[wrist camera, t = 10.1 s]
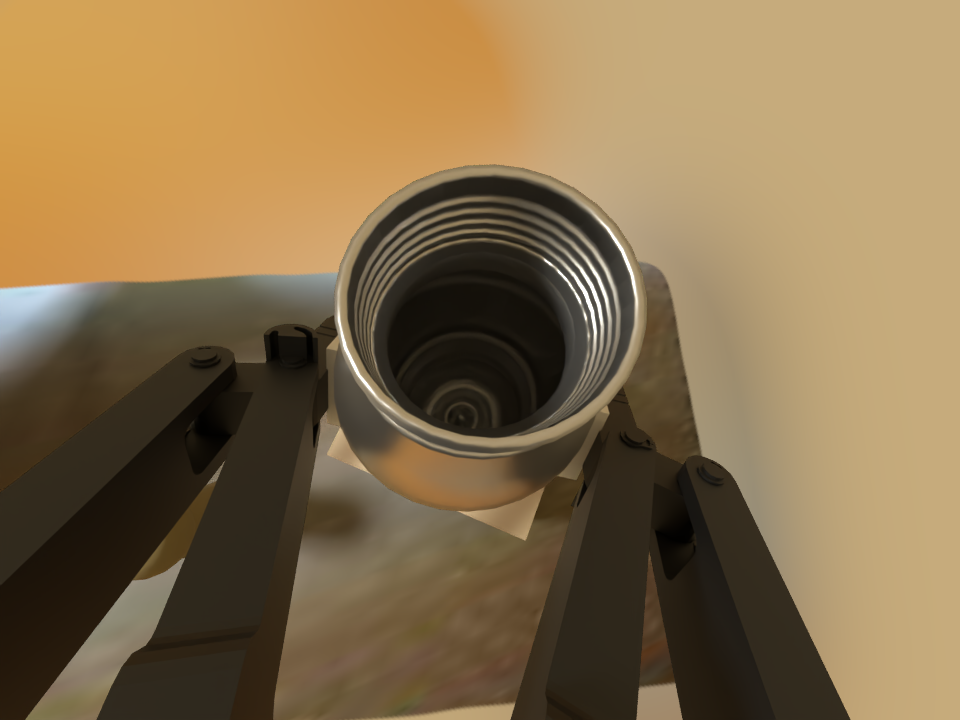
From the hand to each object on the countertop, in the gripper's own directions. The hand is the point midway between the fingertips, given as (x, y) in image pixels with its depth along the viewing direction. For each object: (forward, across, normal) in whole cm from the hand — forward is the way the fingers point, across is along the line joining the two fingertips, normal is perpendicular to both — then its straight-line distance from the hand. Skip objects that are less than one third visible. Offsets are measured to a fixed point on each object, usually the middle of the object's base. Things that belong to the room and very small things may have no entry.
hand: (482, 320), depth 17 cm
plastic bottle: (+4, 0, -9) cm, 9 cm away
